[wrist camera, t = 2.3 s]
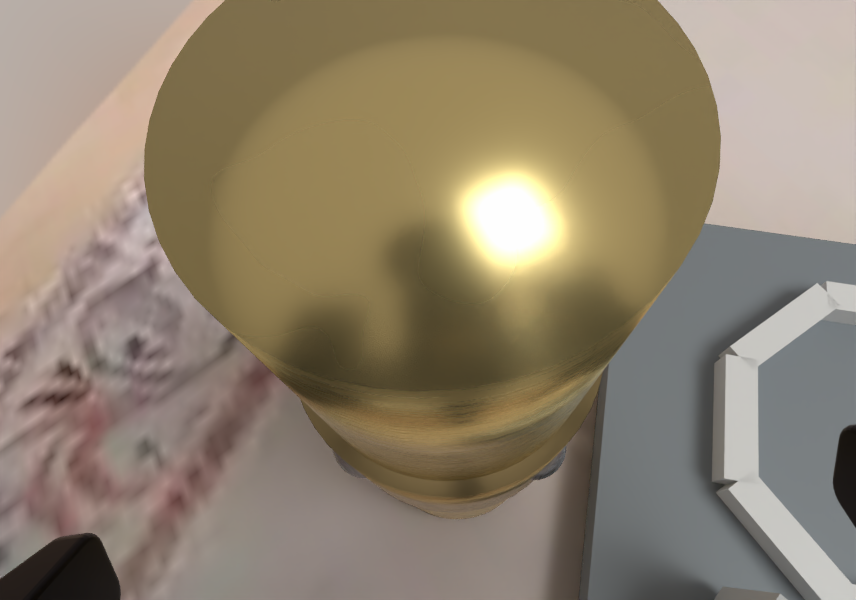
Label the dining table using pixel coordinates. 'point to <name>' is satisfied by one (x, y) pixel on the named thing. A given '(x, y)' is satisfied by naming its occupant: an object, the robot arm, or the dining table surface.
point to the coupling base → (729, 430)
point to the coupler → (434, 215)
